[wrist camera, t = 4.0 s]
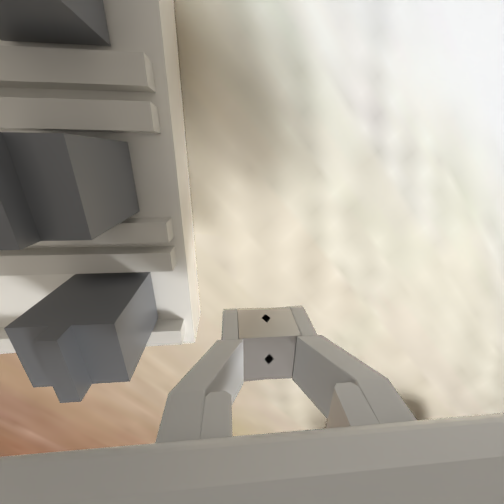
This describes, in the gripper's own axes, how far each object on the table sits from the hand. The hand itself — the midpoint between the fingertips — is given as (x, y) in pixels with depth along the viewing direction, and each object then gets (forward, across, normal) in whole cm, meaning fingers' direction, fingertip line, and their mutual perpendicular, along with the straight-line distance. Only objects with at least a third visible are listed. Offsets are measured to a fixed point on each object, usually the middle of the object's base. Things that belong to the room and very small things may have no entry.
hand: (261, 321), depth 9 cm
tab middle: (+2, +6, -5) cm, 8 cm away
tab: (+2, +6, 0) cm, 6 cm away
